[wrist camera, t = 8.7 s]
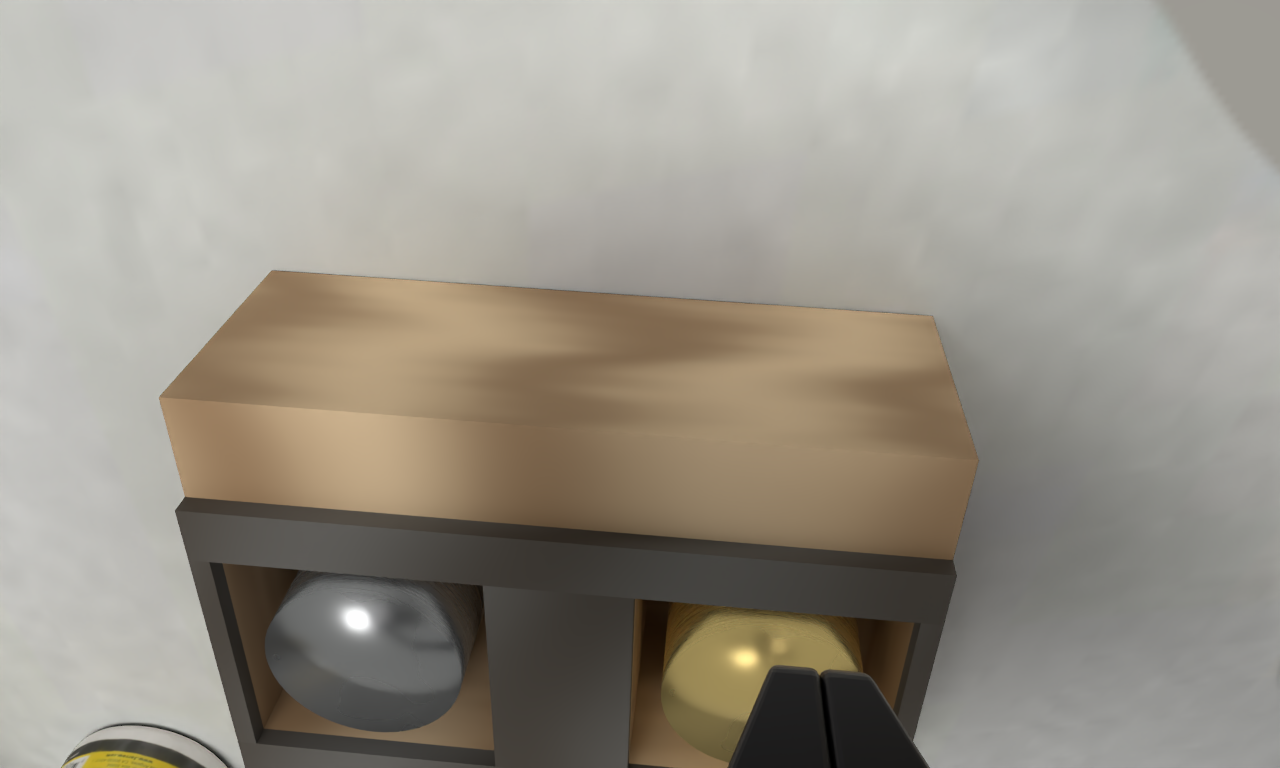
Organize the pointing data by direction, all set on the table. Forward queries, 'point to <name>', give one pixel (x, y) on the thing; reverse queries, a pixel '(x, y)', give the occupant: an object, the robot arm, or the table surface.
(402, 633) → the steel plunger
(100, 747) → the supplement bottle
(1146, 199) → the table surface
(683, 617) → the brass plunger
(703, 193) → the table surface
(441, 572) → the socket board
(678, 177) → the table surface
